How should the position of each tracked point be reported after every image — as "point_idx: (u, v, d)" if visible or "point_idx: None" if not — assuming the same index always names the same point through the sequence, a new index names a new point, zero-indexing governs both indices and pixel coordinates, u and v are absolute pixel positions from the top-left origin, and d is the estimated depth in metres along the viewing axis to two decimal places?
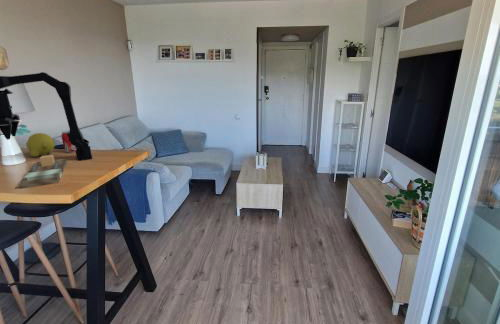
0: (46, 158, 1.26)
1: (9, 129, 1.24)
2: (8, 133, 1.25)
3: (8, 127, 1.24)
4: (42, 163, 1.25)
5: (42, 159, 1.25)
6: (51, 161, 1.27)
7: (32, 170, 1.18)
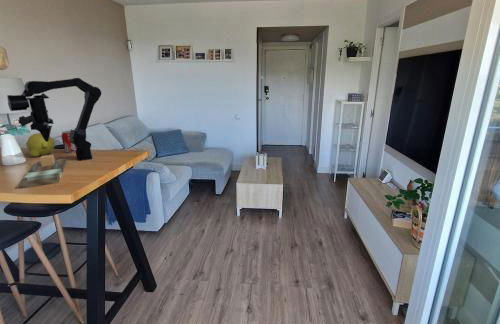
0: (46, 158, 1.26)
1: (48, 132, 1.30)
2: (47, 135, 1.31)
3: (47, 130, 1.30)
4: (42, 163, 1.25)
5: (42, 159, 1.25)
6: (51, 161, 1.27)
7: (32, 170, 1.18)
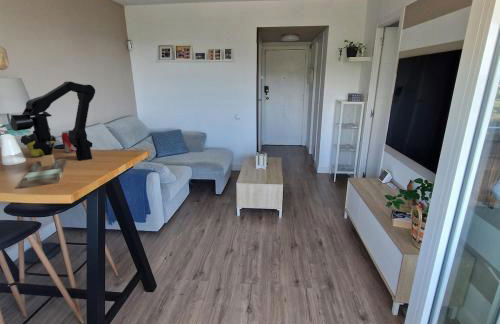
0: (46, 158, 1.26)
1: (50, 150, 1.29)
2: (49, 154, 1.30)
3: (50, 148, 1.29)
4: (42, 163, 1.25)
5: (42, 159, 1.25)
6: (51, 161, 1.27)
7: (32, 170, 1.18)
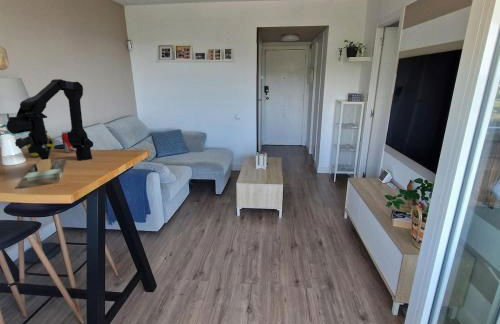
0: (42, 162, 1.19)
1: (47, 154, 1.22)
2: (46, 157, 1.23)
3: (46, 152, 1.22)
4: (38, 168, 1.18)
5: (38, 164, 1.18)
6: (48, 166, 1.20)
7: (32, 170, 1.18)
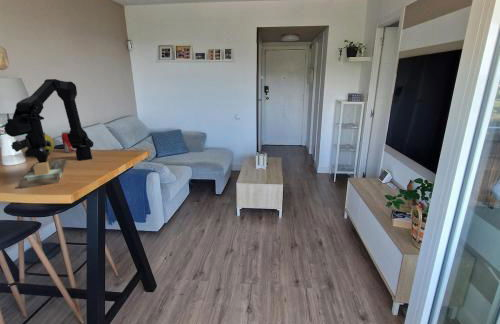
0: (40, 166, 1.14)
1: (45, 157, 1.17)
2: (44, 161, 1.18)
3: (44, 155, 1.17)
4: (36, 171, 1.14)
5: (36, 167, 1.13)
6: (46, 169, 1.15)
7: (32, 170, 1.18)
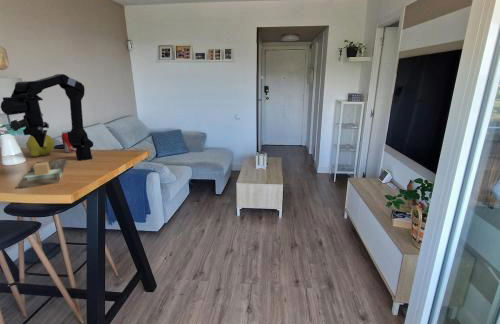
0: (40, 166, 1.14)
1: (43, 137, 1.20)
2: (42, 141, 1.20)
3: (42, 135, 1.19)
4: (36, 171, 1.14)
5: (36, 167, 1.13)
6: (46, 169, 1.15)
7: (32, 170, 1.18)
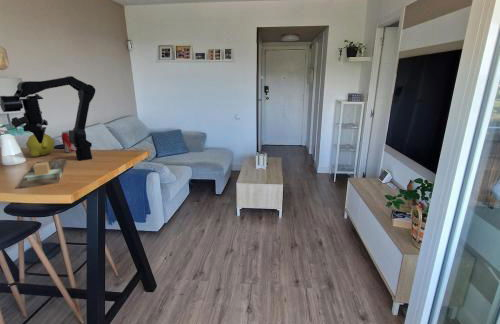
0: (40, 166, 1.14)
1: (42, 133, 1.27)
2: (41, 137, 1.28)
3: (41, 131, 1.27)
4: (36, 171, 1.14)
5: (36, 167, 1.13)
6: (46, 169, 1.15)
7: (32, 170, 1.18)
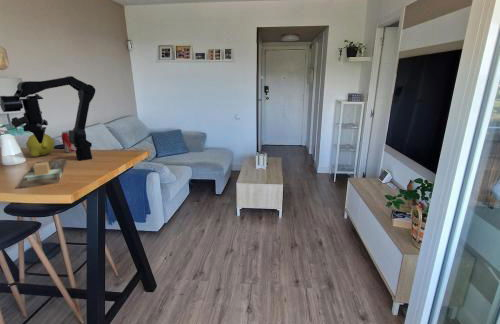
0: (40, 166, 1.14)
1: (42, 133, 1.27)
2: (41, 137, 1.28)
3: (41, 131, 1.27)
4: (36, 171, 1.14)
5: (36, 167, 1.13)
6: (46, 169, 1.15)
7: (32, 170, 1.18)
